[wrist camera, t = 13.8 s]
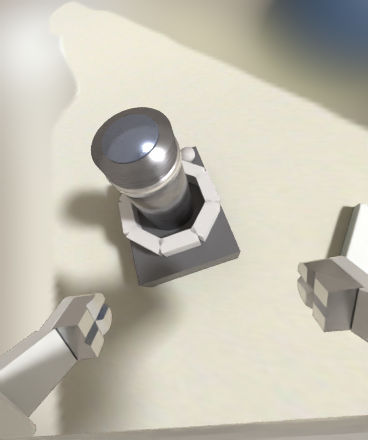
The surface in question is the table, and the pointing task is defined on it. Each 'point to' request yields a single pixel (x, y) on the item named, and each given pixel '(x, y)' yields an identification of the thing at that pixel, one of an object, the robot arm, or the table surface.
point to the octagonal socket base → (181, 232)
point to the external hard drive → (357, 238)
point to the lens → (145, 165)
